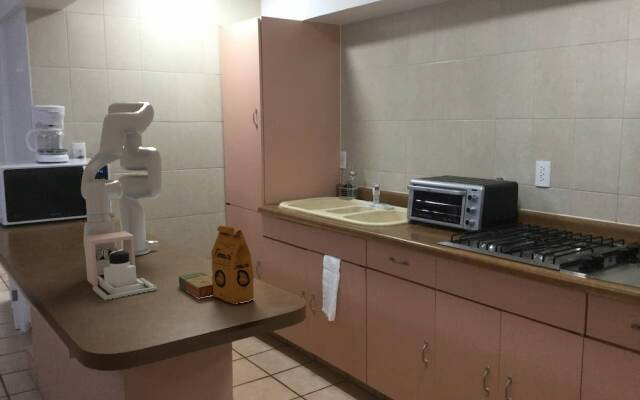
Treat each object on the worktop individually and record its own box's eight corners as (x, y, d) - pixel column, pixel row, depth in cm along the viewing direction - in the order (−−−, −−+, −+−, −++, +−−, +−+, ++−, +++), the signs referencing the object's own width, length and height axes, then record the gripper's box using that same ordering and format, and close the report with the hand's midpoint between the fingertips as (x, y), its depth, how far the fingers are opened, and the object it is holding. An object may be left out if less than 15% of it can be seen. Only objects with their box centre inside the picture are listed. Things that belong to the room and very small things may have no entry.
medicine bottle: (137, 287, 183) (135, 250, 181) (118, 292, 177) (116, 255, 175) (123, 283, 187) (120, 248, 185) (104, 289, 181) (102, 252, 179)
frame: (143, 280, 189) (143, 277, 189) (157, 290, 178) (157, 287, 178) (92, 289, 179) (92, 286, 179) (104, 300, 169) (104, 296, 169)
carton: (198, 300, 169) (197, 287, 168) (178, 288, 182) (177, 275, 181) (223, 295, 174) (223, 282, 173) (202, 283, 187) (202, 270, 186)
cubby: (127, 273, 198) (125, 231, 195) (136, 279, 190) (133, 235, 188) (87, 280, 190) (84, 236, 188) (94, 286, 183) (91, 240, 180)
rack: (118, 271, 200) (117, 257, 200) (143, 288, 180) (143, 273, 179) (88, 276, 194) (87, 261, 194) (111, 294, 174) (110, 278, 173)
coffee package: (230, 308, 161) (227, 232, 157) (208, 298, 170) (206, 226, 167) (259, 301, 167) (257, 228, 164) (237, 291, 176) (235, 222, 173)
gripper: (117, 214, 203) (120, 264, 206) (73, 219, 194) (77, 270, 197) (123, 217, 197) (126, 268, 200) (78, 222, 188) (82, 275, 191)
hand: (102, 269), depth 198 cm, fingers closed
